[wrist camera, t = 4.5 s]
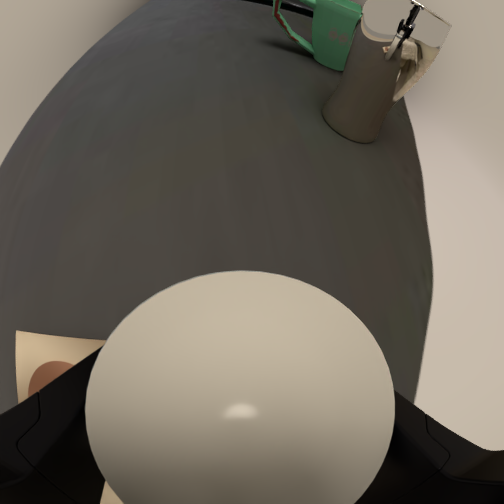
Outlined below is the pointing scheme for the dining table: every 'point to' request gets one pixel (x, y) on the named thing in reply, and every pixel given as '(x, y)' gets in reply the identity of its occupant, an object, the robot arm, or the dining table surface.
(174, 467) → the white lidded jar
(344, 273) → the dining table surface
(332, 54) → the mug
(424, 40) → the beer glass
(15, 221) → the dining table surface
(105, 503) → the mat
